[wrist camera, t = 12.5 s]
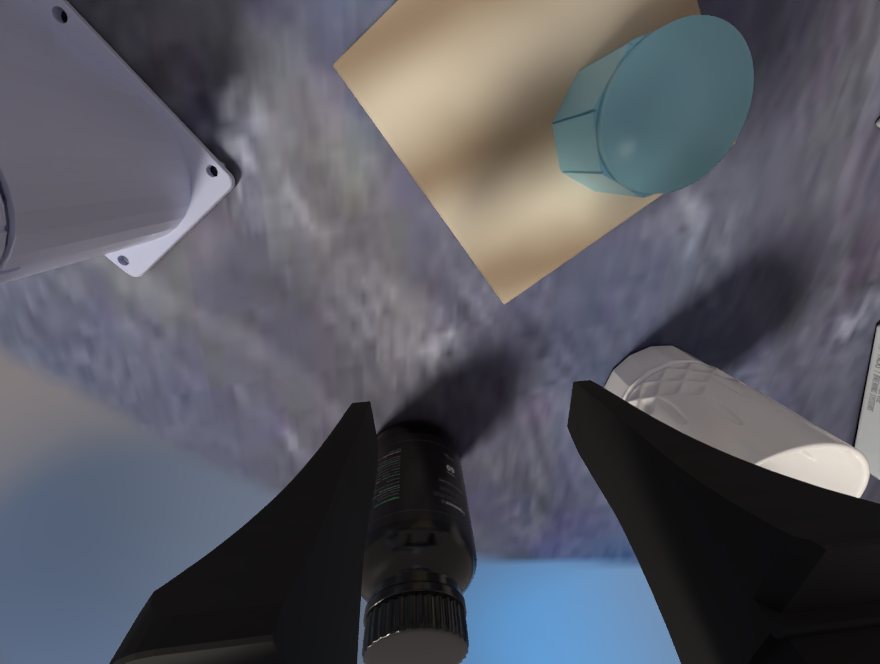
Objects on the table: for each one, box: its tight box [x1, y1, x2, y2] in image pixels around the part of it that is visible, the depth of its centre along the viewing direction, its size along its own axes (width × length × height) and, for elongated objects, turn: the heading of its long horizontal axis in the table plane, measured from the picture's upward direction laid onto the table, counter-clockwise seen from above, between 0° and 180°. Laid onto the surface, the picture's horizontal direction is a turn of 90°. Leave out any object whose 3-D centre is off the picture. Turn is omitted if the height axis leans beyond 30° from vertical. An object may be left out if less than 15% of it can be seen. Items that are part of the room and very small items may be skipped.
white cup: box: [604, 346, 870, 498], centre depth 20 cm, size 8×8×10 cm
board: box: [333, 0, 737, 304], centre depth 16 cm, size 14×14×1 cm
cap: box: [552, 15, 754, 198], centre depth 14 cm, size 5×5×5 cm
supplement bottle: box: [361, 421, 477, 664], centre depth 21 cm, size 7×7×12 cm
